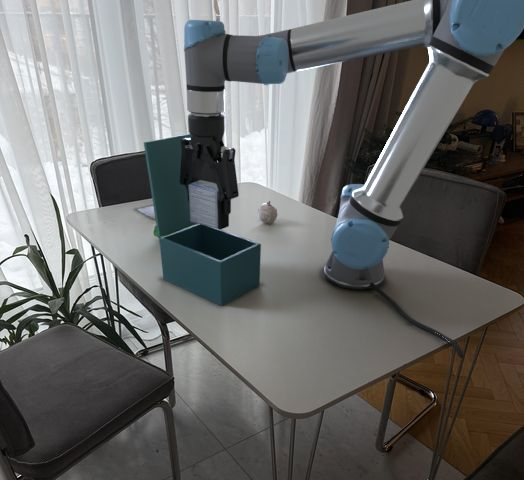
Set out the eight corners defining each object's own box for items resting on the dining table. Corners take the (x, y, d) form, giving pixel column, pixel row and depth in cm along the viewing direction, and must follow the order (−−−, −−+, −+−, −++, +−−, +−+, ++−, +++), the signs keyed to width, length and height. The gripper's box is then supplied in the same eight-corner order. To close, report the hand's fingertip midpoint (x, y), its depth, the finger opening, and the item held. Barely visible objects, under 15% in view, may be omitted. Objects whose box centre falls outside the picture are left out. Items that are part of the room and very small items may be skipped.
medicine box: (229, 224, 108) (229, 186, 103) (217, 230, 105) (216, 191, 100) (201, 216, 112) (200, 179, 107) (189, 222, 109) (187, 183, 103)
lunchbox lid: (193, 133, 109) (191, 133, 109) (145, 142, 100) (143, 142, 100) (202, 220, 120) (200, 220, 120) (160, 236, 111) (157, 235, 111)
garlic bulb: (254, 223, 150) (254, 198, 146) (262, 217, 155) (263, 192, 151) (272, 227, 148) (274, 202, 144) (281, 221, 153) (282, 196, 148)
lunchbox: (259, 284, 117) (261, 243, 111) (221, 306, 108) (220, 262, 102) (202, 261, 126) (201, 222, 120) (163, 279, 117) (159, 237, 111)
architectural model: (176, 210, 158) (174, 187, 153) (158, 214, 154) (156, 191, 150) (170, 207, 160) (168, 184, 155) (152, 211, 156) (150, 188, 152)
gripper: (258, 118, 92) (254, 230, 106) (183, 104, 103) (188, 207, 116) (233, 123, 87) (232, 239, 101) (157, 108, 98) (165, 215, 111)
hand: (209, 222), depth 108 cm, fingers closed on medicine box, 8 cm apart
